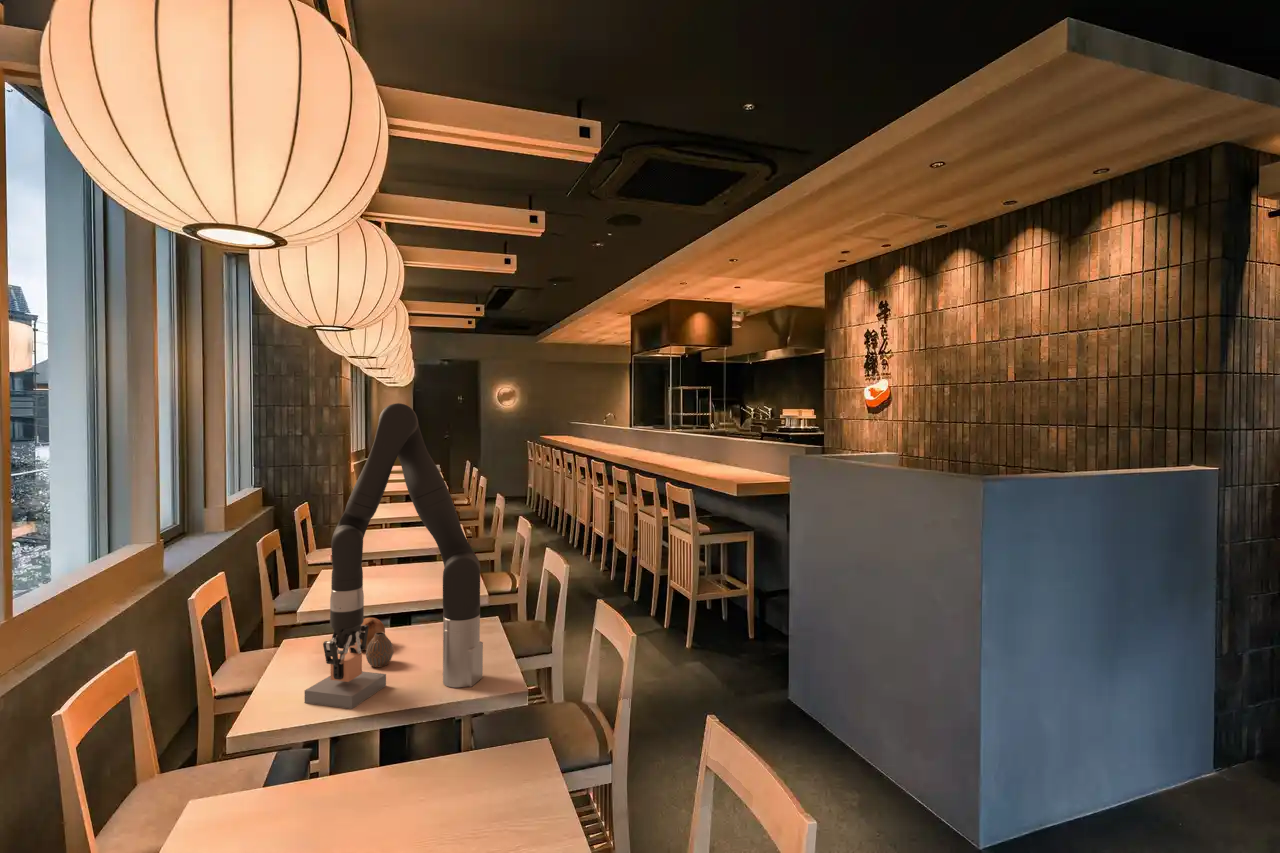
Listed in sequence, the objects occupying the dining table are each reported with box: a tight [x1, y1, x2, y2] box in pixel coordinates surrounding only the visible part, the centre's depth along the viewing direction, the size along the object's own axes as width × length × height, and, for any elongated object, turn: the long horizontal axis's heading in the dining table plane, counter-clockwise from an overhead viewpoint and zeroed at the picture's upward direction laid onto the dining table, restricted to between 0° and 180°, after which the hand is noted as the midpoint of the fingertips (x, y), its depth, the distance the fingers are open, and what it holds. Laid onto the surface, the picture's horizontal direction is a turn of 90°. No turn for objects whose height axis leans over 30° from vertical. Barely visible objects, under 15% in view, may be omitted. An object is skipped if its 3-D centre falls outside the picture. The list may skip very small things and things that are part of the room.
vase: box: [365, 632, 394, 668], centre depth 171 cm, size 7×7×9 cm
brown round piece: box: [360, 617, 386, 651], centre depth 184 cm, size 10×9×10 cm
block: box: [330, 651, 363, 682], centre depth 153 cm, size 5×5×5 cm
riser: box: [304, 670, 387, 710], centre depth 153 cm, size 13×13×3 cm
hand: (346, 673), depth 153 cm, fingers closed on block, 5 cm apart
